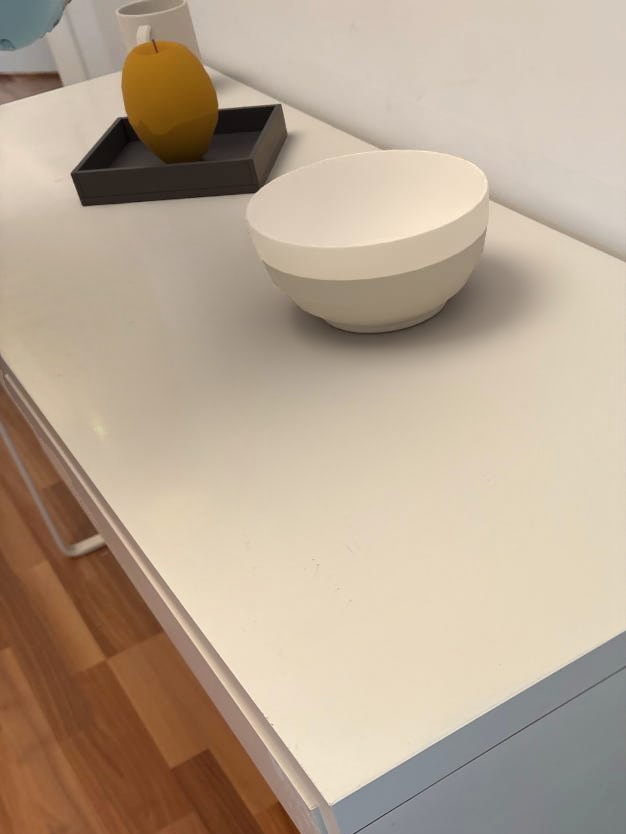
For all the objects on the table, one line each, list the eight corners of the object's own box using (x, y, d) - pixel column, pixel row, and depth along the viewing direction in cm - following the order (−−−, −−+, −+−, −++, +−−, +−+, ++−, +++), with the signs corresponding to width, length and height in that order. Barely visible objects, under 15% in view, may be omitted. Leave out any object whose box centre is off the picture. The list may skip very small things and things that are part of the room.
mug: (180, 80, 132) (157, -7, 125) (226, 88, 128) (204, -1, 121) (115, 104, 127) (87, 16, 120) (160, 114, 122) (134, 23, 115)
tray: (81, 206, 102) (69, 173, 100) (127, 147, 114) (117, 117, 112) (260, 192, 101) (252, 158, 99) (287, 134, 113) (281, 103, 111)
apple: (250, 152, 107) (221, 30, 99) (183, 183, 102) (147, 57, 94) (191, 140, 112) (159, 22, 104) (125, 169, 107) (85, 48, 99)
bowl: (224, 333, 80) (193, 226, 73) (357, 239, 90) (340, 139, 84) (417, 379, 72) (400, 264, 66) (537, 271, 83) (532, 163, 77)
